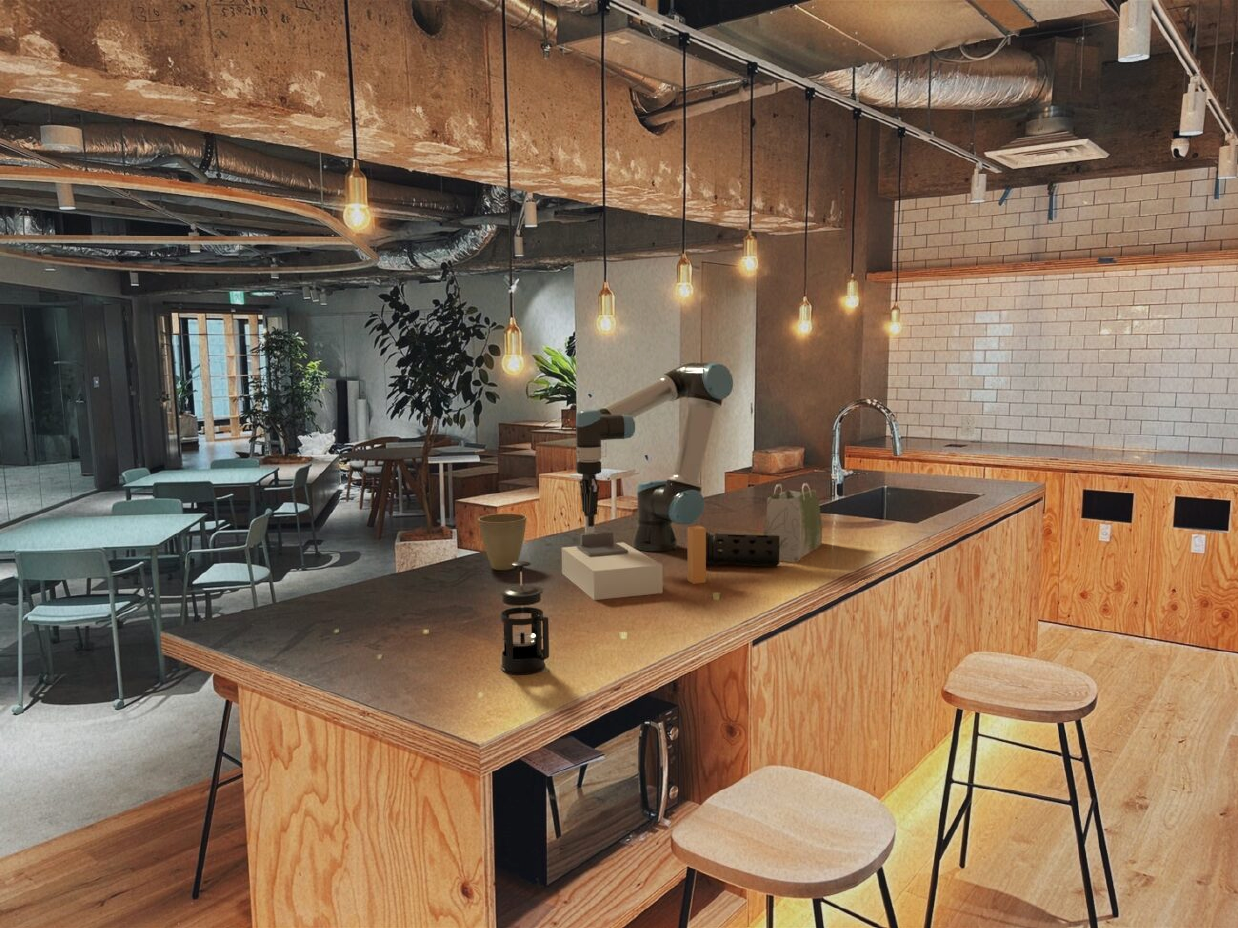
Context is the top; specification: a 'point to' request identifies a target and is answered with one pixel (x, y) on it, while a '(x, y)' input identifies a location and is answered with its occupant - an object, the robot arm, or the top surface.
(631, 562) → the socket block
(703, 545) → the plug peg
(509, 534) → the plant pot
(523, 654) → the french press
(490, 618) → the top surface
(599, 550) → the shutter
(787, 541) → the grocery bag
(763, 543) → the muzzle brake
